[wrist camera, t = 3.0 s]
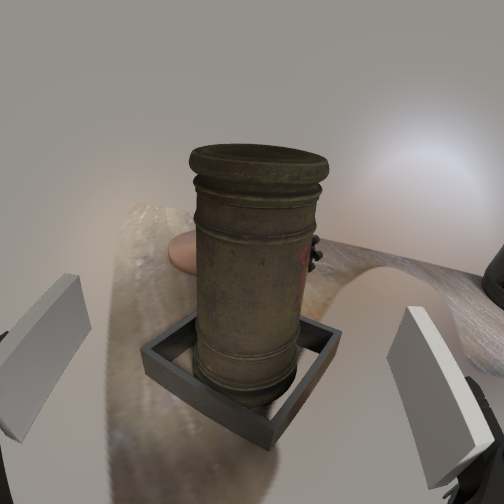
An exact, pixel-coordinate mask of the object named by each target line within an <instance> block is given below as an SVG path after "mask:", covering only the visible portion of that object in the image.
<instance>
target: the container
mask: <svg viewBox="0 0 504 504" xmlns="http://www.w3.org/2000/svg"><path fill="white" fill-rule="evenodd" d="M189 166H190V168H191V169H192V170H193V171H194V172H195V173H197V174H198V175H197V176H196V177H195V178H194V180H193V184H194V186H195V190H196V192H197V209H196V211H195V214H194V222H195V224H196V270H197V315H196V320H195V326H196V330H197V339H196V341H195V344H194V359H193V369H194V373H195V376H196V378H197V380H199V381H200V382H202V383H204V384H205V385H207V386H209V387H210V388H212V389H214V390H215V391H217V392H219V393H221V394H222V395H224V396H226V397H228V398H229V399H231V400H233V401H235V402H236V403H238V404H240V405H242V406H244V407H246V408H251V407H257V406H262V405H265V404H268V403H270V402H272V401H275V400H276V399H278V398H279V397H281V396H282V395H283V394H284V393H285V392H286V391H287V390H288V389H289V387H290V386H291V384H292V383H293V381H294V379H295V376H296V372H297V361H298V347H297V344H296V340H297V337H298V335H299V332H300V320H299V318H300V312H301V306H302V301H303V294H304V288H305V282H306V277H307V272H308V266H309V258H310V249H311V244H312V238H313V233H314V232H315V230H316V221H315V211H316V203H317V200H318V199H319V195H320V194H321V193H322V187H321V186H320V184H319V182H320V181H323V180H324V179H325V178H326V177H327V176H328V174H329V165H328V161H327V159H326V158H324V157H322V156H320V155H317V154H314V153H310V152H306V151H302V150H297V149H292V148H286V147H279V146H270V145H258V144H217V145H208V146H203V147H199V148H196V149H194V150H193V151H192V153H191V155H190V158H189Z"/></svg>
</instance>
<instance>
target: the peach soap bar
mask: <svg viewBox="0 0 504 504" xmlns="http://www.w3.org/2000/svg"><path fill="white" fill-rule="evenodd" d="M168 247H169V260H170V262H171V263H172V264H173V265H174V266H175V267H176V268H178V269H180V270H181V271H184V272H186V273H190V274H194V275H197V270H196V230H194V231H189V232H186V233H183V234H180V235H178V236H176V237H175V238H174V239H172V240H171V242H170V243H169V246H168Z"/></svg>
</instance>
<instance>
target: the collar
mask: <svg viewBox="0 0 504 504" xmlns="http://www.w3.org/2000/svg"><path fill="white" fill-rule="evenodd" d="M196 315H197V310H196V311H195V312H193V313H192V314H190V315H189V316H187V317H186V318H185V319H183V320H182V321H180V322H179V323H177V324H176V325H174V326H173V327H171V328H170V329H169V330H167V331H166V332H164V333H163V334H161V335H160V336H158V337H157V338H155V339H154V340H152V341H151V342H150V343H148V344H147V345H145V346H144V347H142V348H141V349H140V352H141V356H142V361H143V365H144V370H145V374H146V375H148V376H149V377H150V378H152V379H153V380H154V381H156V382H157V383H158V384H160V385H161V386H163V387H164V388H165V389H167V390H168V391H170V392H171V393H173V394H174V395H175V396H177V397H178V398H180V399H181V400H183V401H184V402H186V403H187V404H189V405H190V406H192V407H193V408H195V409H196V410H198V411H199V412H201V413H203V414H204V415H206V416H207V417H209V418H211V419H212V420H214V421H215V422H217V423H219V424H220V425H222V426H224V427H225V428H227V429H229V430H230V431H232V432H234V433H236V434H237V435H239V436H241V437H243V438H244V439H246V440H248V441H250V442H252V443H254V444H255V445H257V446H259V447H261V448H263V449H265V450H267V451H270V450H271V449H272V447H273V446H274V445H275V443H276V442H277V441H278V439H279V438H280V437H281V435H282V434H283V433H284V431H285V430H286V428H287V427H288V426H289V424H290V423H291V421H292V420H293V419H294V417H295V416H296V414H297V413H298V412H299V410H300V409H301V407H302V406H303V404H304V403H305V401H306V400H307V398H308V397H309V395H310V394H311V392H312V391H313V389H314V388H315V386H316V385H317V383H318V382H319V380H320V379H321V377H322V376H323V374H324V373H325V371H326V369H327V368H328V366H329V365H330V363H331V361H332V360H333V358H334V356H335V354H336V351H337V348H338V345H339V341H340V338H341V335H342V331H339V330H337V329H334V328H332V327H329V326H326V325H324V324H321V323H319V322H316V321H314V320H311V319H308V318H306V317H303V316H301V315H300V318H299V320H300V332H299V335H298V337H297V340H296V344H297V345H299V346H302V347H304V348H307V349H309V350H311V351H314V352H316V353H319V354H320V355H319V356H318V357H317V359H316V360H315V362H314V363H313V365H312V366H311V368H310V369H309V370H308V372H307V373H306V375H305V376H304V377H303V379H302V380H301V382H300V383H299V384H298V386H297V387H296V388H295V390H294V391H293V393H292V394H291V395H290V397H289V398H288V399H287V400H286V402H285V403H284V404H283V406H282V407H281V408H280V410H279V411H278V412H277V413H276V415H275V416H274V417H273V419H272V420H271V421H270V420H268V419H266V418H264V417H262V416H261V415H259V414H257V413H255V412H253V411H251V410H249V409H247V408H246V407H244V406H242V405H240V404H238V403H236V402H235V401H233V400H231V399H229V398H228V397H226V396H224V395H222V394H221V393H219V392H217V391H215V390H214V389H212V388H210V387H209V386H207V385H205V384H204V383H202V382H200V381H199V380H197V379H196V378H194V377H192V376H191V375H189V374H188V373H186V372H184V371H183V370H181V369H180V368H178V367H177V366H175V365H174V364H172V363H171V361H173V360H174V359H175V358H177V357H178V356H179V355H180V354H182V353H183V352H184V351H186V350H187V349H188V348H189V347H191V346H192V345H193V344H195V341H196V339H197V330H196V326H195V320H196Z"/></svg>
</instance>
